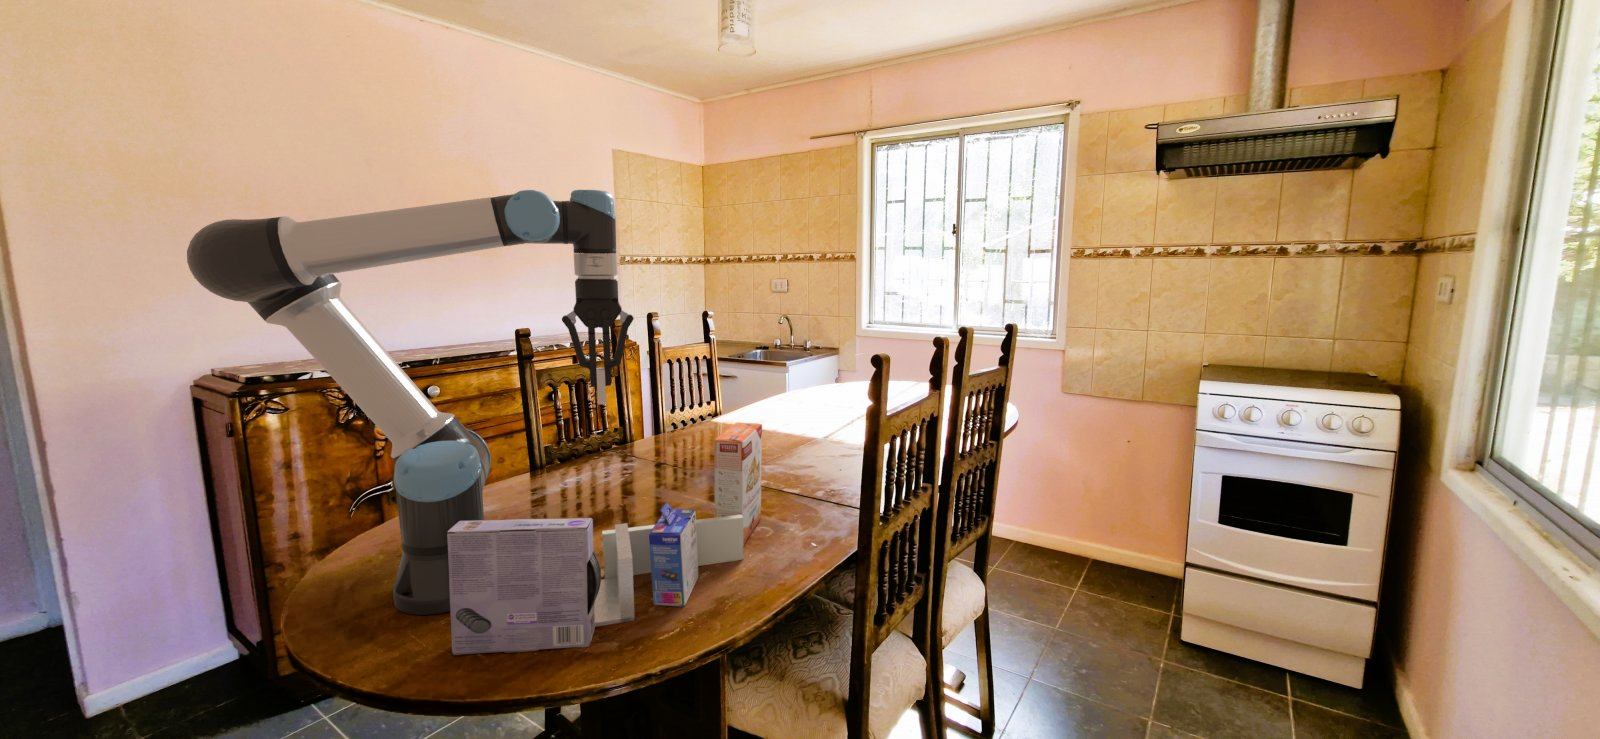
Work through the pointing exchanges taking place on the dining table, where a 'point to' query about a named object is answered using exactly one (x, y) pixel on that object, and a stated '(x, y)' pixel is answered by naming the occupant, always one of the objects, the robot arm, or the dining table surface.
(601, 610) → the bookend
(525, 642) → the cake pan box
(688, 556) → the ink cartridge box
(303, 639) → the dining table surface
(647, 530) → the back wall
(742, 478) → the cracker box
